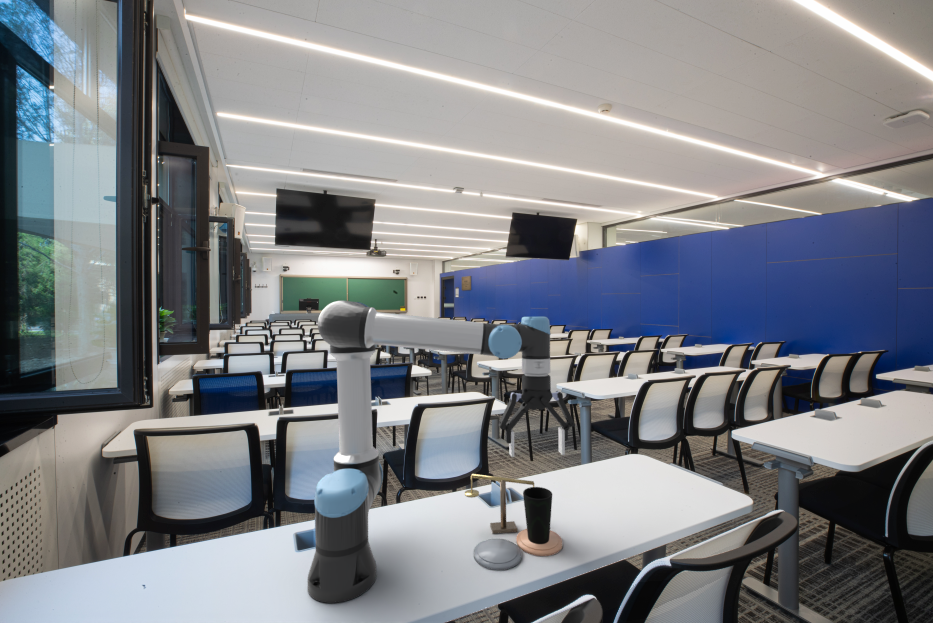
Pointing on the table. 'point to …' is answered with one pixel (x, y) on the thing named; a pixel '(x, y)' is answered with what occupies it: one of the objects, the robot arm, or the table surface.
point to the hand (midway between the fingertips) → (536, 454)
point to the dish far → (539, 549)
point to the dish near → (497, 554)
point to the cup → (538, 513)
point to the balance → (503, 525)
